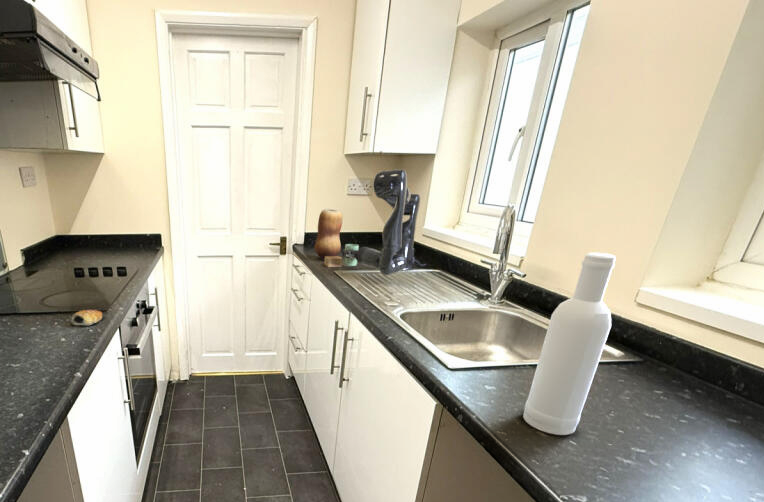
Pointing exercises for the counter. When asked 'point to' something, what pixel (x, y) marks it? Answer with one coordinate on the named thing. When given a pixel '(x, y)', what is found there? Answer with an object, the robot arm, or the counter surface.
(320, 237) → the butternut squash
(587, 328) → the bottle
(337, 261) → the block
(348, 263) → the cup
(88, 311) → the pastry
